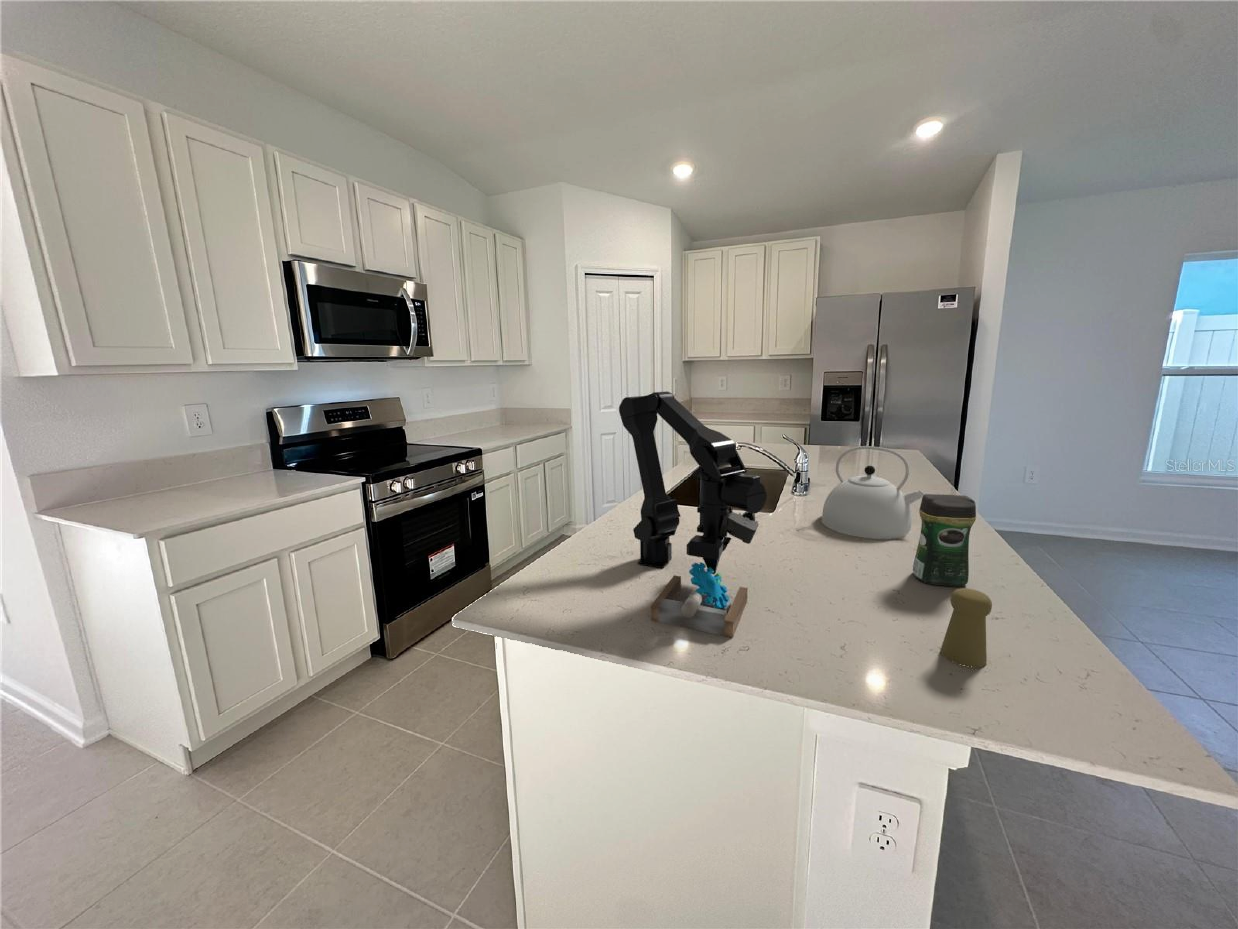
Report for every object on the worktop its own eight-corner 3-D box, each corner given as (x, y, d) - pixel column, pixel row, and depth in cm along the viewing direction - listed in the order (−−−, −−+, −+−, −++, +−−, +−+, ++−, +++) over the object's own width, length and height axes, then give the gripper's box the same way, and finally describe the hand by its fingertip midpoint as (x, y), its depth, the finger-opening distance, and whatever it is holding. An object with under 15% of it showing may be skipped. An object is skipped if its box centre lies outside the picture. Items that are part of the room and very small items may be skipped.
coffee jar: (956, 573, 106) (968, 491, 102) (972, 590, 98) (985, 502, 94) (907, 569, 108) (916, 489, 104) (919, 585, 101) (929, 499, 97)
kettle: (922, 521, 139) (932, 443, 134) (919, 547, 121) (929, 458, 116) (829, 508, 153) (835, 437, 148) (813, 529, 134) (819, 449, 129)
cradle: (647, 624, 88) (647, 596, 86) (673, 588, 101) (674, 564, 100) (730, 643, 81) (731, 613, 80) (747, 602, 95) (748, 576, 94)
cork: (931, 646, 80) (939, 584, 77) (966, 644, 80) (975, 582, 78) (959, 669, 74) (969, 603, 71) (996, 666, 74) (1007, 600, 72)
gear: (719, 613, 88) (686, 566, 91) (696, 628, 90) (665, 583, 94) (740, 596, 97) (709, 554, 100) (718, 610, 100) (689, 569, 103)
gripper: (747, 520, 85) (744, 601, 88) (763, 492, 101) (759, 561, 105) (686, 513, 89) (685, 590, 93) (710, 487, 106) (709, 554, 109)
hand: (712, 573), depth 100 cm, fingers closed
